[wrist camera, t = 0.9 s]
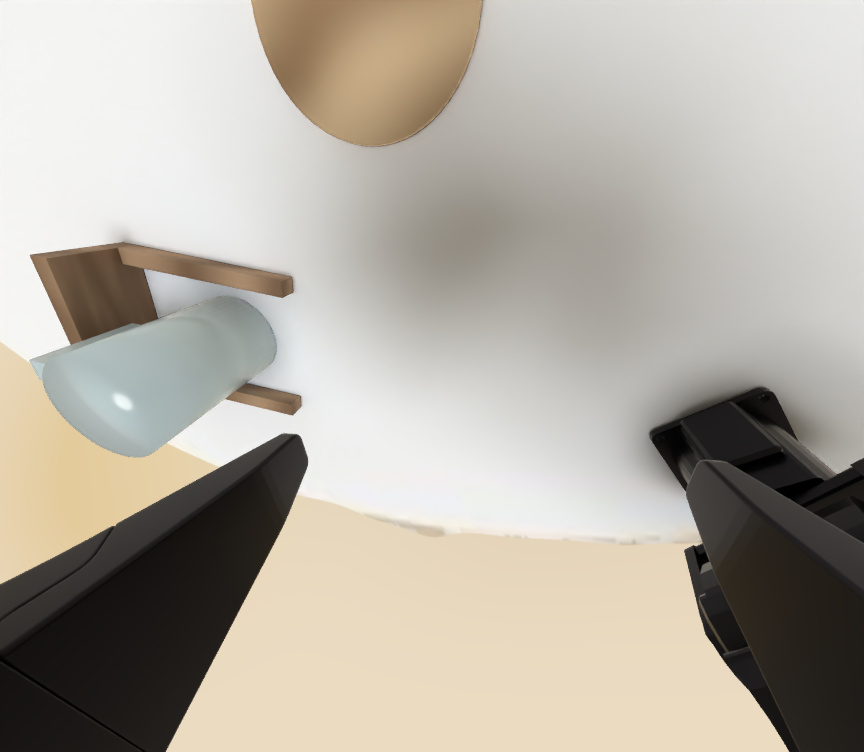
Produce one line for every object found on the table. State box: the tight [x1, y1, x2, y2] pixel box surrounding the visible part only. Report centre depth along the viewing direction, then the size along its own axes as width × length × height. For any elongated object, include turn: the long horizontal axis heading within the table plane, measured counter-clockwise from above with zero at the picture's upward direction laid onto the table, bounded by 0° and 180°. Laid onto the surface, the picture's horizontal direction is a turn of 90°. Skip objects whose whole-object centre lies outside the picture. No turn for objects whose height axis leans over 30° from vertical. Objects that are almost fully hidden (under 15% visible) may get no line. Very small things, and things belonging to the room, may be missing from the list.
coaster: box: [251, 0, 482, 146], centre depth 14 cm, size 10×10×1 cm
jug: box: [29, 296, 276, 457], centre depth 20 cm, size 9×6×10 cm, turn 82°
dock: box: [30, 242, 301, 415], centre depth 22 cm, size 12×10×5 cm
